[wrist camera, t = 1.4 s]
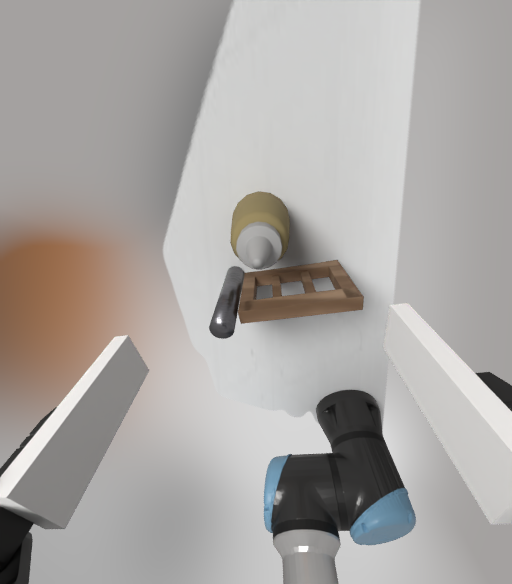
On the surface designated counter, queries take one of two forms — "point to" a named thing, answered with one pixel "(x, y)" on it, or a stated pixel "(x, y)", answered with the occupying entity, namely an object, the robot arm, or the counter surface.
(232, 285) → the gate post
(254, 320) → the gate
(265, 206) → the squeeze bottle
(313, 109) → the counter surface
